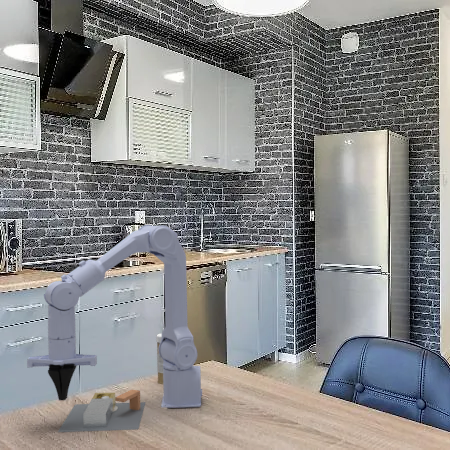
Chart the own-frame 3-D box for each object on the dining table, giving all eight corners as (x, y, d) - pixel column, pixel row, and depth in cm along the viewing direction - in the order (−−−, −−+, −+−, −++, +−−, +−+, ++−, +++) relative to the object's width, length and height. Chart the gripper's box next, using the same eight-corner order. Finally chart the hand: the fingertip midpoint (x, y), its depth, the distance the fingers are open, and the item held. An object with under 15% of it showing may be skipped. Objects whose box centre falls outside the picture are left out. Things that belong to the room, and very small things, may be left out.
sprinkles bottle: (168, 379, 155) (167, 331, 154) (177, 383, 151) (176, 334, 151) (154, 383, 152) (153, 334, 151) (163, 386, 148) (162, 336, 148)
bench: (145, 403, 135) (145, 390, 135) (138, 431, 118) (138, 416, 118) (75, 406, 134) (74, 392, 134) (57, 433, 117) (57, 418, 117)
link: (95, 405, 133) (95, 393, 133) (115, 404, 133) (115, 392, 133) (83, 427, 119) (83, 414, 119) (106, 427, 120) (105, 413, 120)
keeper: (132, 409, 132) (131, 389, 132) (140, 410, 131) (140, 390, 130) (115, 417, 126) (115, 397, 126) (124, 419, 125) (123, 398, 125)
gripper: (22, 341, 116) (23, 406, 116) (92, 340, 117) (93, 404, 117) (32, 334, 123) (33, 395, 123) (98, 332, 124) (99, 393, 124)
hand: (63, 398), depth 121 cm, fingers closed
